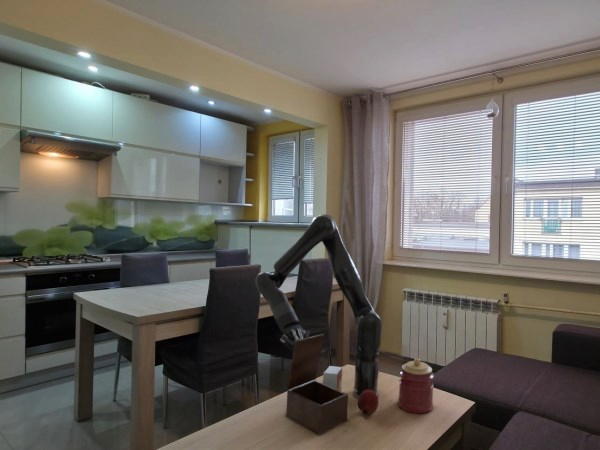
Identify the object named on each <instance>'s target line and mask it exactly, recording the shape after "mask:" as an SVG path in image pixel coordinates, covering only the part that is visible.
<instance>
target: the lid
mask: <svg viewBox="0 0 600 450" xmlns="http://www.w3.org/2000/svg"><path fill="white" fill-rule="evenodd" d="M324 339H325V334H324V333H320V334H317V335H313V336H309V337H308V338H304V339H300V340H297V341H296V342H295V348H294V349H293V353H292V359H291V364H290V369H289V374H288V378H287V379H288V380H287V385H286V389H287V390H290V389H292V388H295V387H298V386H300V385H303V384H306V383H308V382H311V381H314V380H316V379H317V375H318V371H319V370H318V369H319V365H320V359H321V354H322V350H323V344H324Z"/></svg>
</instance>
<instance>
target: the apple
mask: <svg viewBox="0 0 600 450" xmlns="http://www.w3.org/2000/svg"><path fill="white" fill-rule="evenodd" d="M356 402H357V403H356V405H357V408H358V409H359V410H360V411H361V412H362V414H368V415H372V414H374V413H375V412H376V411H377V409H378V406H379V396H378V394H377V395H376V393H375V392H374V391H372V390H365V391H363V392H362V393H361V395H360V396H359V398H357V400H356Z"/></svg>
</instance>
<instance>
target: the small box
mask: <svg viewBox="0 0 600 450" xmlns="http://www.w3.org/2000/svg"><path fill="white" fill-rule="evenodd" d="M322 383H323V384H325V385H328V386H330V387H332V388H335V389H337V390H339V391H342V384H343V366H334V365H329V366H328V367H327V369H326V370H325V371H324V372H323V373H322Z"/></svg>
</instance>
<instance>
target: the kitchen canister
mask: <svg viewBox="0 0 600 450" xmlns="http://www.w3.org/2000/svg"><path fill="white" fill-rule="evenodd" d="M401 368H402V369H400V371H399V376H400V379H399V381H398V382H399V383H398V384H399V385H398V387H399V388H398V397H397V398H398V400H397V401H398V406H399V407H400V408H401V409H402V410H404V411H406V412H407V413H408V412H409V413H412V414H424V413H428V412H430V411H431V410H432V408H433V405H434V397H433V396H434V386H435V385H434V383H433V380H434V378H435V374H434V373H433V368H432V367H431V365H429V364H428V363H426V362H424V361H421V359H420V358H415V359H414V360H410V361H407V362H406V363H404V364H402V366H401Z"/></svg>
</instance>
